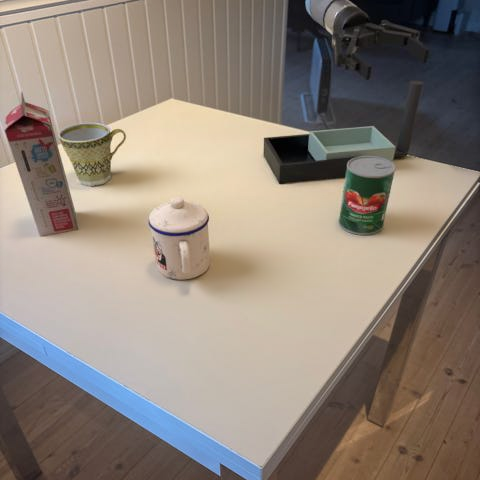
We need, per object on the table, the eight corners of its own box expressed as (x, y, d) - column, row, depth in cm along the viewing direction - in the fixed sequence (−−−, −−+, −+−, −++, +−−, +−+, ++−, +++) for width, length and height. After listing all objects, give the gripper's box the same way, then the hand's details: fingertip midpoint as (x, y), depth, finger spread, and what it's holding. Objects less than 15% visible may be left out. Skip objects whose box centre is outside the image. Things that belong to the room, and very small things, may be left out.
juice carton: (75, 212, 92) (42, 89, 78) (78, 229, 88) (43, 102, 73) (39, 217, 91) (-2, 93, 76) (39, 236, 86) (-4, 107, 71)
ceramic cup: (75, 194, 98) (62, 145, 91) (66, 174, 105) (54, 127, 98) (138, 181, 102) (130, 133, 95) (126, 163, 108) (118, 117, 102)
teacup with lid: (153, 252, 82) (143, 188, 74) (207, 246, 83) (202, 182, 75) (159, 296, 73) (149, 229, 65) (219, 288, 74) (215, 221, 67)
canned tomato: (346, 237, 85) (355, 177, 77) (333, 214, 91) (340, 157, 83) (389, 233, 86) (403, 174, 78) (374, 211, 91) (385, 154, 84)
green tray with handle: (396, 142, 113) (410, 73, 104) (419, 163, 105) (437, 91, 95) (307, 149, 111) (313, 80, 101) (324, 172, 102) (332, 99, 92)
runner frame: (338, 148, 113) (341, 131, 111) (362, 176, 102) (365, 157, 100) (263, 155, 111) (263, 137, 108) (279, 184, 100) (280, 165, 97)
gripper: (391, 27, 118) (444, 67, 106) (298, 53, 114) (342, 97, 102) (397, -7, 112) (454, 30, 100) (299, 19, 108) (346, 61, 96)
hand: (398, 64), depth 101 cm, fingers open, 13 cm apart
